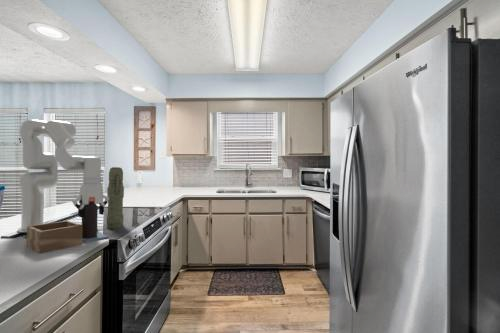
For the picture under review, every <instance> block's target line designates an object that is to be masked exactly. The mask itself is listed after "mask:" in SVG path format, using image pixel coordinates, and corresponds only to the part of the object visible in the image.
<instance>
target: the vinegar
mask: <svg viewBox="0 0 500 333" xmlns="http://www.w3.org/2000/svg"><path fill="white" fill-rule="evenodd" d="M88 201H89V204H88V205H85V206H84V207H83V208H82V209H83V210H84V213H83V217H82V218H81V225H82V238H93V237H96V236H97V233H98V231H97V230H98V229H97V228H98V216H99V215H98V214H99V205H98V204H95V203H94V202H95V197H89V200H88Z"/></svg>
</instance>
